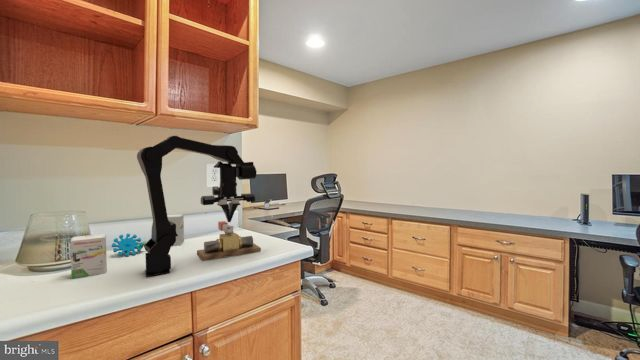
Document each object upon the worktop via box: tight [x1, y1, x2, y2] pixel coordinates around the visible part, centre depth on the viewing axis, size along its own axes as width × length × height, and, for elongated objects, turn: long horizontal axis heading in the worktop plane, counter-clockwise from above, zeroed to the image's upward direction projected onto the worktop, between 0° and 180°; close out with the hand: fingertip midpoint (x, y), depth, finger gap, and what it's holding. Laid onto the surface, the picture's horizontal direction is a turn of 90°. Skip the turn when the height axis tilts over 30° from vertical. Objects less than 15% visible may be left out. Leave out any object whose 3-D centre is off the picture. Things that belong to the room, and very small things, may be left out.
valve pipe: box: [203, 232, 254, 253], centre depth 112 cm, size 18×6×6 cm, turn 122°
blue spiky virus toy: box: [111, 233, 147, 258], centre depth 112 cm, size 11×6×10 cm
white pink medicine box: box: [70, 233, 108, 279], centre depth 90 cm, size 8×5×12 cm, turn 125°
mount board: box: [196, 242, 262, 262], centre depth 112 cm, size 22×10×2 cm, turn 122°
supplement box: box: [167, 213, 185, 247], centre depth 126 cm, size 7×7×13 cm
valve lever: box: [217, 220, 234, 235], centre depth 116 cm, size 14×3×3 cm, turn 33°
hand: (229, 222), depth 107 cm, fingers closed
